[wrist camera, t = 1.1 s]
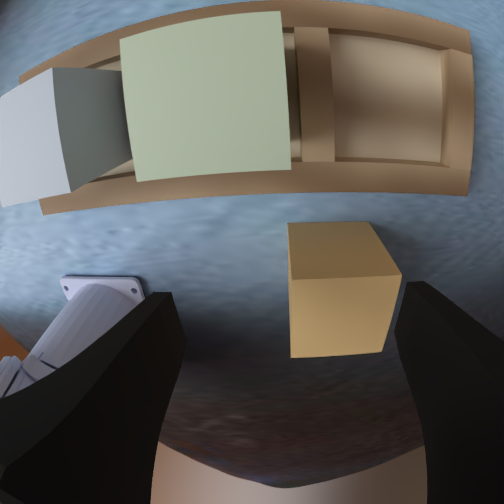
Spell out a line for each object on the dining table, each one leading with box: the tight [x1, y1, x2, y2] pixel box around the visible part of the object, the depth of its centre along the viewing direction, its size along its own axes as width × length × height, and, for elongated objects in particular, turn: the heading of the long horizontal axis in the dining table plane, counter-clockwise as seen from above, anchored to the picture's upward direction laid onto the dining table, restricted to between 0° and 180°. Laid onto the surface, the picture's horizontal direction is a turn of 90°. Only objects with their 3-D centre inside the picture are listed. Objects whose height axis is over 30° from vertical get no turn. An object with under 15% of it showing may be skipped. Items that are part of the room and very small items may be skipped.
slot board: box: [19, 0, 475, 215], centre depth 13 cm, size 10×26×3 cm, turn 95°
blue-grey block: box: [0, 67, 133, 208], centre depth 11 cm, size 5×5×6 cm
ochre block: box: [287, 221, 402, 358], centre depth 16 cm, size 5×5×6 cm
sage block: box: [120, 11, 291, 182], centre depth 10 cm, size 5×5×6 cm
